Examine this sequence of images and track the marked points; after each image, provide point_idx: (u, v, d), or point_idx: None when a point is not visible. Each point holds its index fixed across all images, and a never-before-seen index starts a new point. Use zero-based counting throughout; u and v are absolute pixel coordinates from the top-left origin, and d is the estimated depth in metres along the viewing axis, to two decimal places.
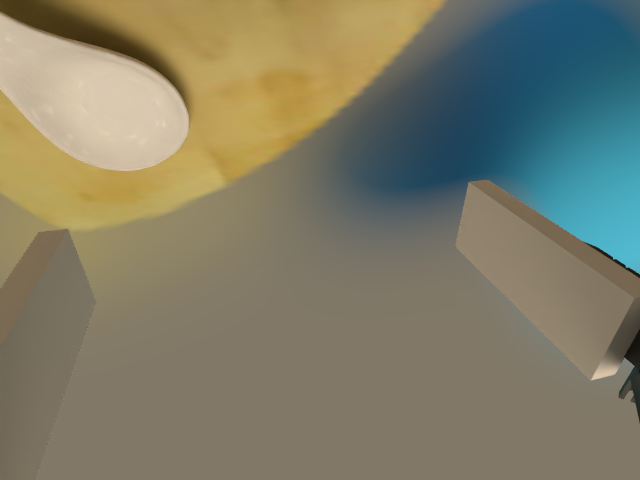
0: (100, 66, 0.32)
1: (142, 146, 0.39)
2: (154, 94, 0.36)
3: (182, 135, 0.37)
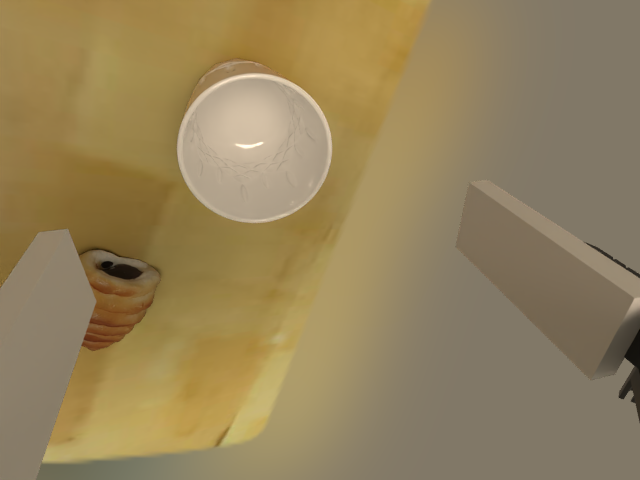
0: None
1: None
2: None
3: None
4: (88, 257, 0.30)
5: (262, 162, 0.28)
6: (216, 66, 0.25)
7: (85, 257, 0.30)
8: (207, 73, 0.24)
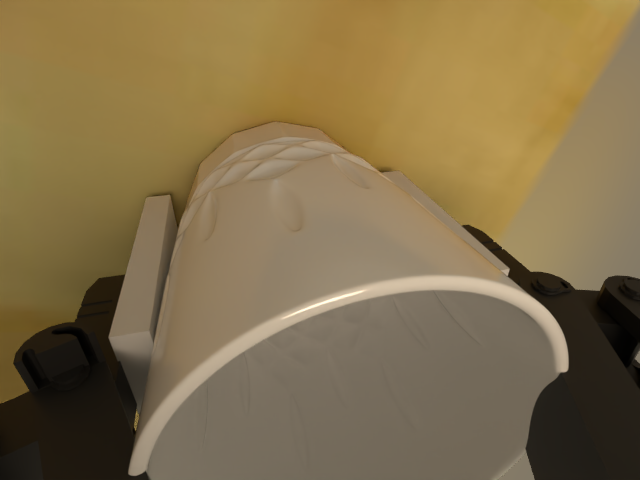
0: None
1: None
2: None
3: None
4: None
5: (321, 315, 0.15)
6: (236, 146, 0.12)
7: None
8: (218, 170, 0.11)
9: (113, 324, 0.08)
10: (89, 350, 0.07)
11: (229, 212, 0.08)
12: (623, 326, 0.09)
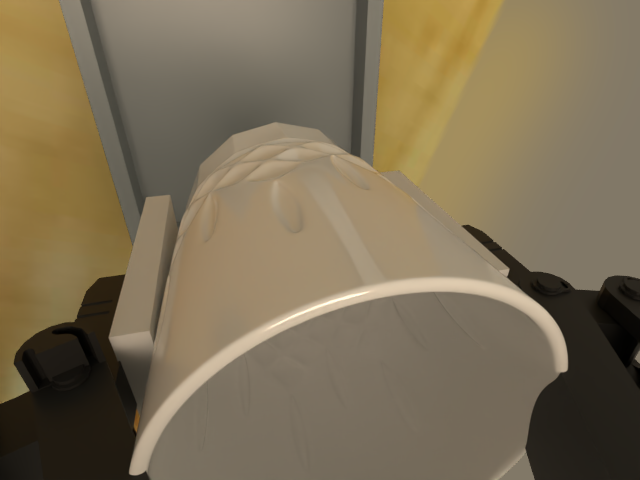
0: None
1: None
2: None
3: None
4: None
5: (321, 315, 0.15)
6: (237, 147, 0.12)
7: None
8: (219, 171, 0.11)
9: (113, 324, 0.08)
10: (89, 350, 0.07)
11: (229, 213, 0.08)
12: (623, 326, 0.09)
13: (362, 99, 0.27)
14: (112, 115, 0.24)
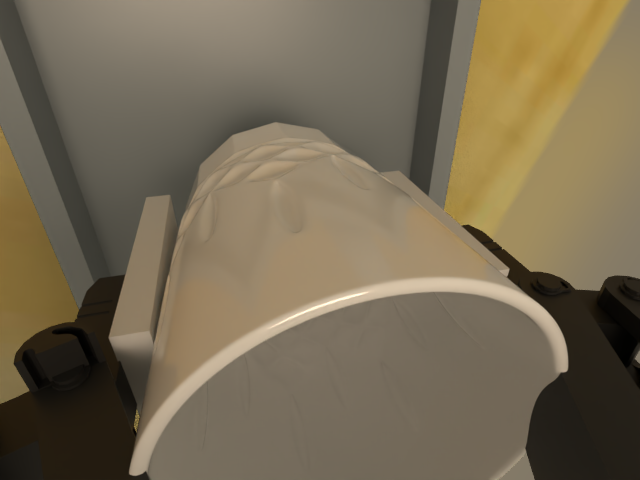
0: None
1: None
2: None
3: None
4: None
5: (321, 315, 0.15)
6: (237, 147, 0.12)
7: None
8: (219, 172, 0.11)
9: (113, 324, 0.08)
10: (89, 350, 0.07)
11: (229, 213, 0.08)
12: (623, 326, 0.09)
13: (433, 148, 0.19)
14: (58, 185, 0.15)
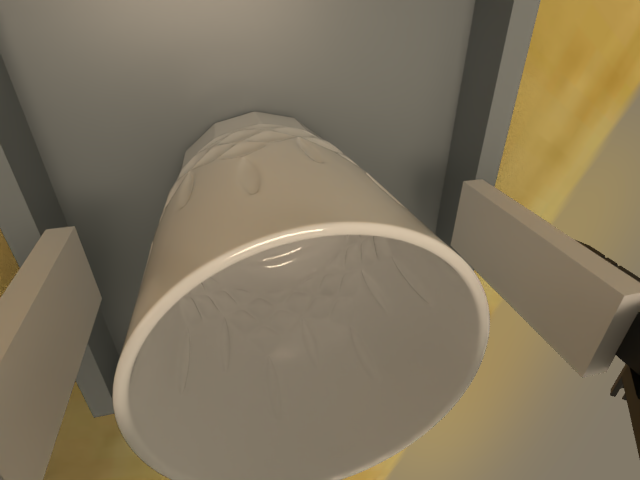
0: None
1: None
2: None
3: None
4: None
5: (299, 289, 0.16)
6: (217, 133, 0.13)
7: None
8: (199, 153, 0.12)
9: None
10: None
11: (202, 184, 0.09)
12: None
13: (474, 172, 0.16)
14: (36, 221, 0.13)
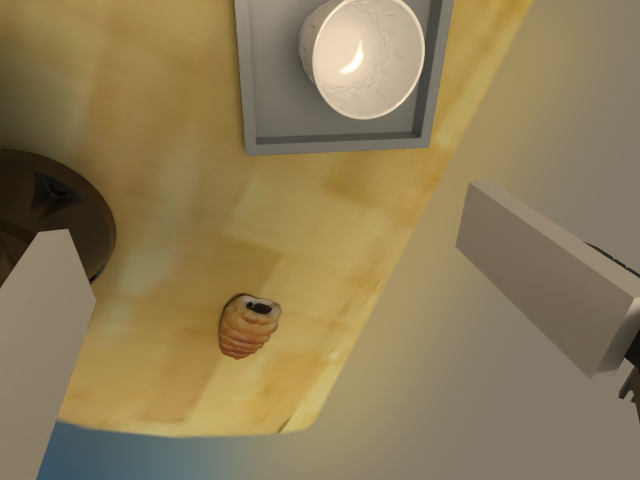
0: None
1: None
2: None
3: None
4: (241, 301, 0.47)
5: (351, 87, 0.34)
6: None
7: (239, 301, 0.47)
8: (320, 6, 0.31)
9: None
10: None
11: (332, 2, 0.28)
12: None
13: (435, 37, 0.35)
14: (249, 35, 0.32)
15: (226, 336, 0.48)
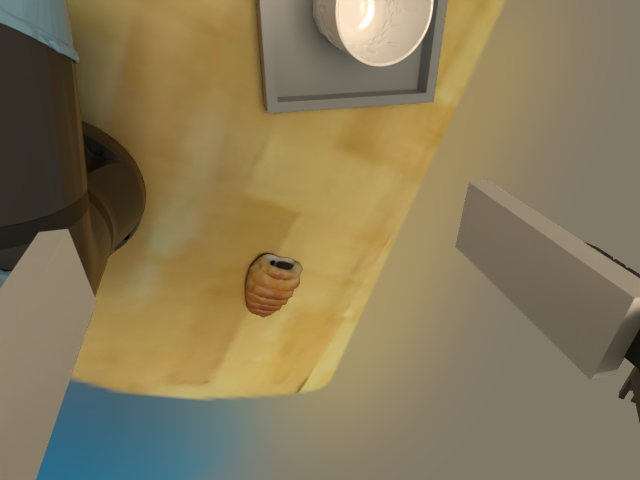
0: None
1: None
2: None
3: None
4: (265, 259, 0.50)
5: (363, 44, 0.37)
6: None
7: (263, 259, 0.50)
8: None
9: None
10: None
11: None
12: None
13: None
14: None
15: (253, 293, 0.51)
